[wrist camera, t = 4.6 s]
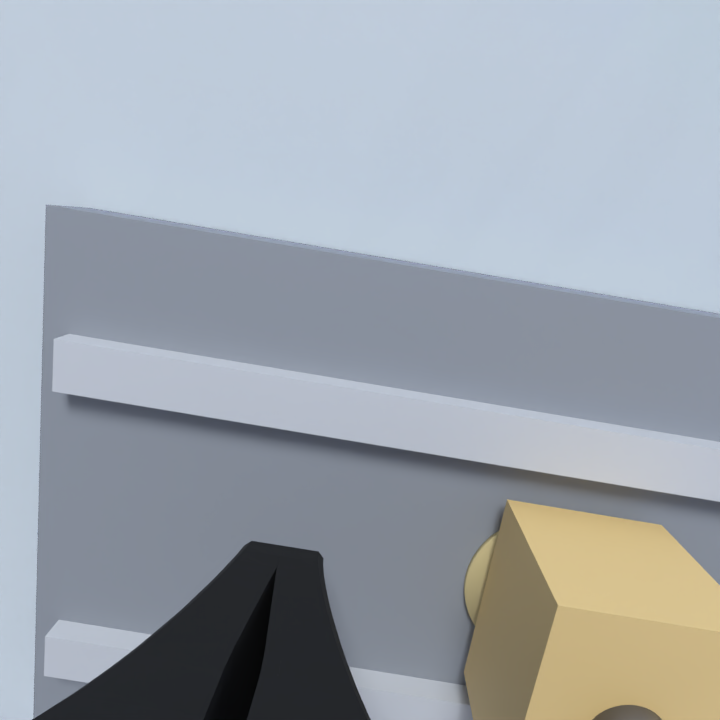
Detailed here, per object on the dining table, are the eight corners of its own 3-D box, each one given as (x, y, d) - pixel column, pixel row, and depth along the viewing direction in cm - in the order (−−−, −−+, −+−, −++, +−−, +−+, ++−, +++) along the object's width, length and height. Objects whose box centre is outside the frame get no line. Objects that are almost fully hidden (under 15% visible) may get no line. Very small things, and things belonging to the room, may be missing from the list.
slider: (661, 524, 10) (839, 709, 6) (605, 694, 11) (729, 947, 7) (507, 499, 10) (588, 668, 6) (463, 671, 11) (510, 913, 7)
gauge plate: (994, 360, 11) (1568, 480, 6) (793, 800, 14) (1053, 1157, 9) (89, 208, 11) (-186, 187, 6) (68, 684, 14) (-128, 973, 9)
